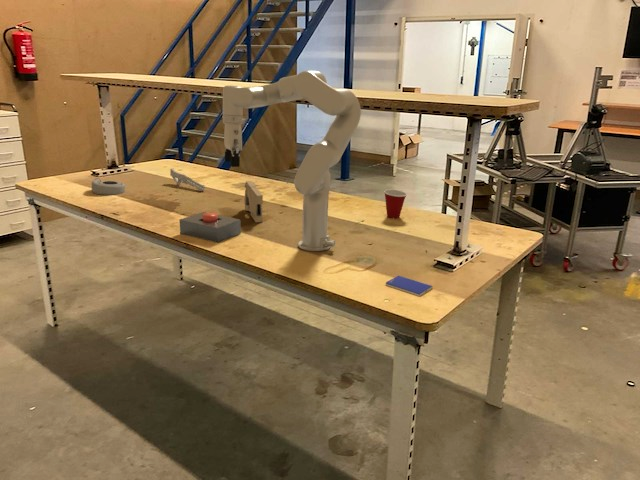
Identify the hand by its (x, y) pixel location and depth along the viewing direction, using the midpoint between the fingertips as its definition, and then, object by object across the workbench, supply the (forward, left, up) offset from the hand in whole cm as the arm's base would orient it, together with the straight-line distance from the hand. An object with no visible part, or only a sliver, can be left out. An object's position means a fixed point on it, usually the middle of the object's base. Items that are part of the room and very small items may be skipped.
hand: (232, 164), depth 202 cm
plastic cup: (-44, -63, -29) cm, 82 cm away
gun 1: (+75, -51, -29) cm, 95 cm away
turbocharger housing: (+100, -18, -29) cm, 106 cm away
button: (+8, +5, -24) cm, 26 cm away
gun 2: (+10, -26, -29) cm, 40 cm away
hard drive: (-80, +10, -30) cm, 86 cm away
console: (+8, +5, -29) cm, 30 cm away
